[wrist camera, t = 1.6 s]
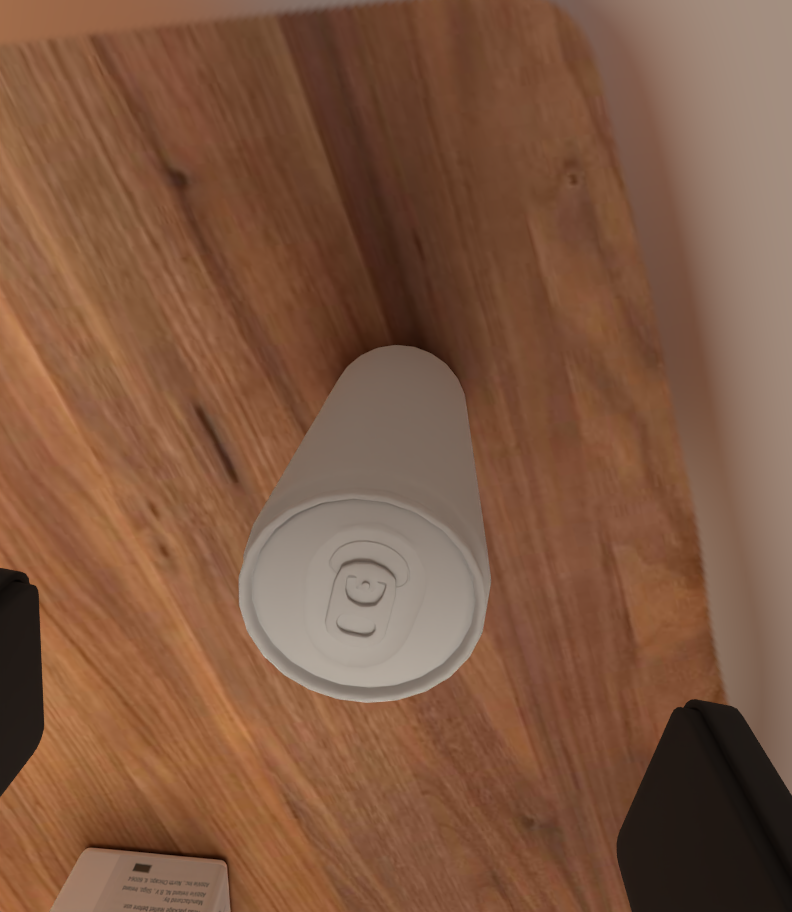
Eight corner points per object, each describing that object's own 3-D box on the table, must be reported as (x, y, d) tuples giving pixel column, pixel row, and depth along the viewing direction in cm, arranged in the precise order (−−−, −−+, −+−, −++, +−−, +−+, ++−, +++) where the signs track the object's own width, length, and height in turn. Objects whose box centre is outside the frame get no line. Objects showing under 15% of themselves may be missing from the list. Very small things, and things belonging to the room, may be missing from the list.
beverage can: (482, 359, 21) (529, 521, 10) (447, 481, 23) (455, 732, 12) (347, 327, 21) (247, 456, 10) (322, 452, 23) (215, 678, 12)
